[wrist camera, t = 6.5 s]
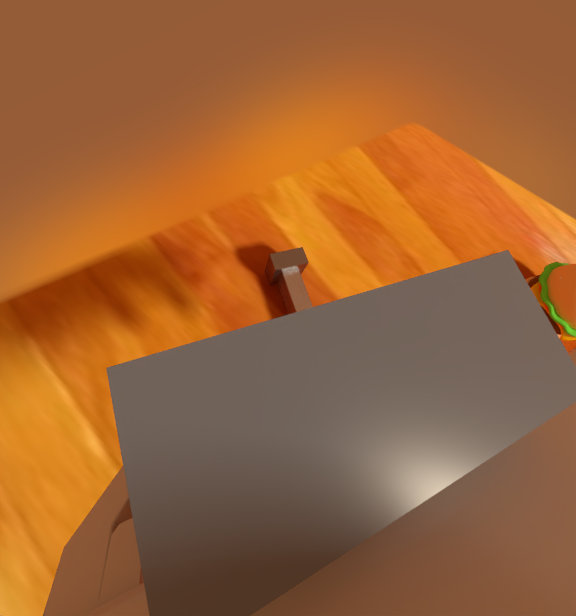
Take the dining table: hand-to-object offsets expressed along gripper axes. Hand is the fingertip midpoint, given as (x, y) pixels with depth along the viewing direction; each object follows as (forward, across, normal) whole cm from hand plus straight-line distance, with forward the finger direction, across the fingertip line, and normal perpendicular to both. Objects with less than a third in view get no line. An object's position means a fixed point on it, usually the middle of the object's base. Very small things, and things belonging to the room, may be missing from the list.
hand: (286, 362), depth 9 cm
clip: (+4, 0, +5) cm, 7 cm away
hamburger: (+9, -47, +17) cm, 50 cm away
